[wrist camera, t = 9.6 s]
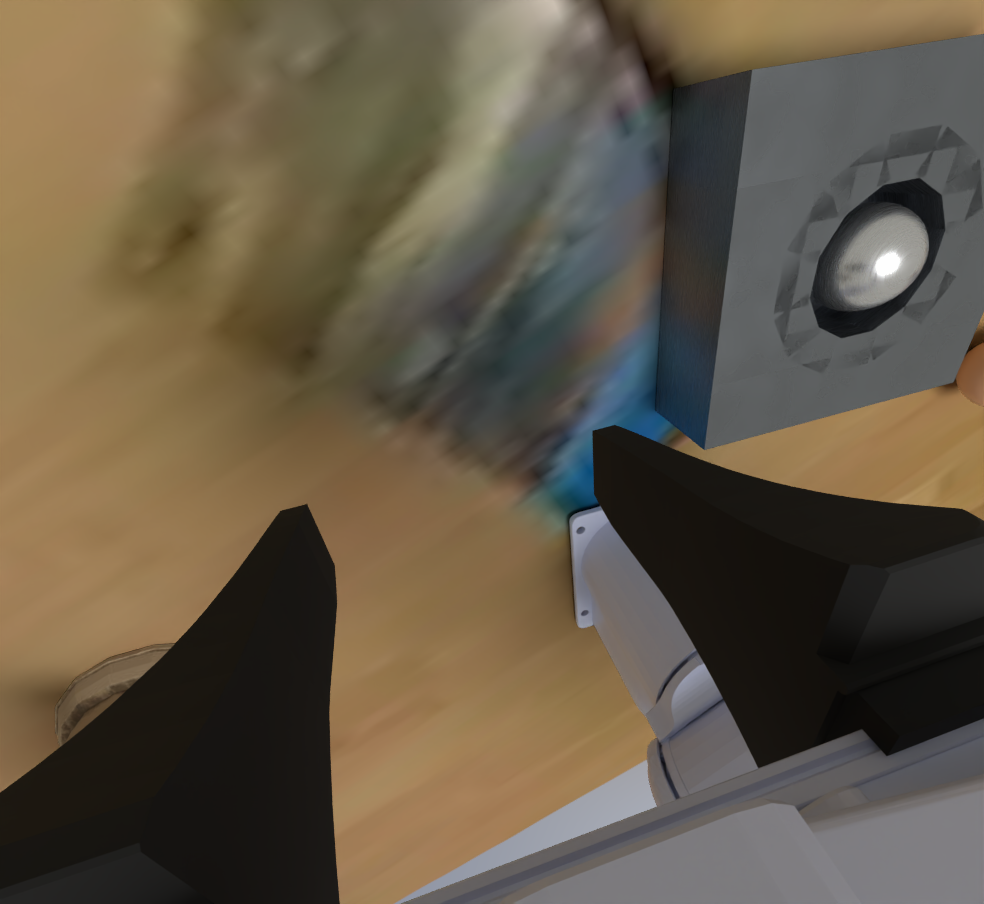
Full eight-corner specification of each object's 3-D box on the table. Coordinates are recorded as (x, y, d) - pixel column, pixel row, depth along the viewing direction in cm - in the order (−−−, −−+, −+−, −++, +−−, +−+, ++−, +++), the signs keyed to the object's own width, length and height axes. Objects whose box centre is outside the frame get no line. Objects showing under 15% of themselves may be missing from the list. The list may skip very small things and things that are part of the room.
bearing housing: (875, 354, 26) (953, 382, 22) (655, 410, 24) (704, 449, 20) (975, 41, 19) (1110, 14, 15) (673, 89, 17) (752, 69, 13)
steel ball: (847, 287, 22) (937, 308, 18) (770, 308, 21) (849, 334, 18) (870, 189, 20) (977, 193, 16) (785, 210, 19) (877, 219, 16)
